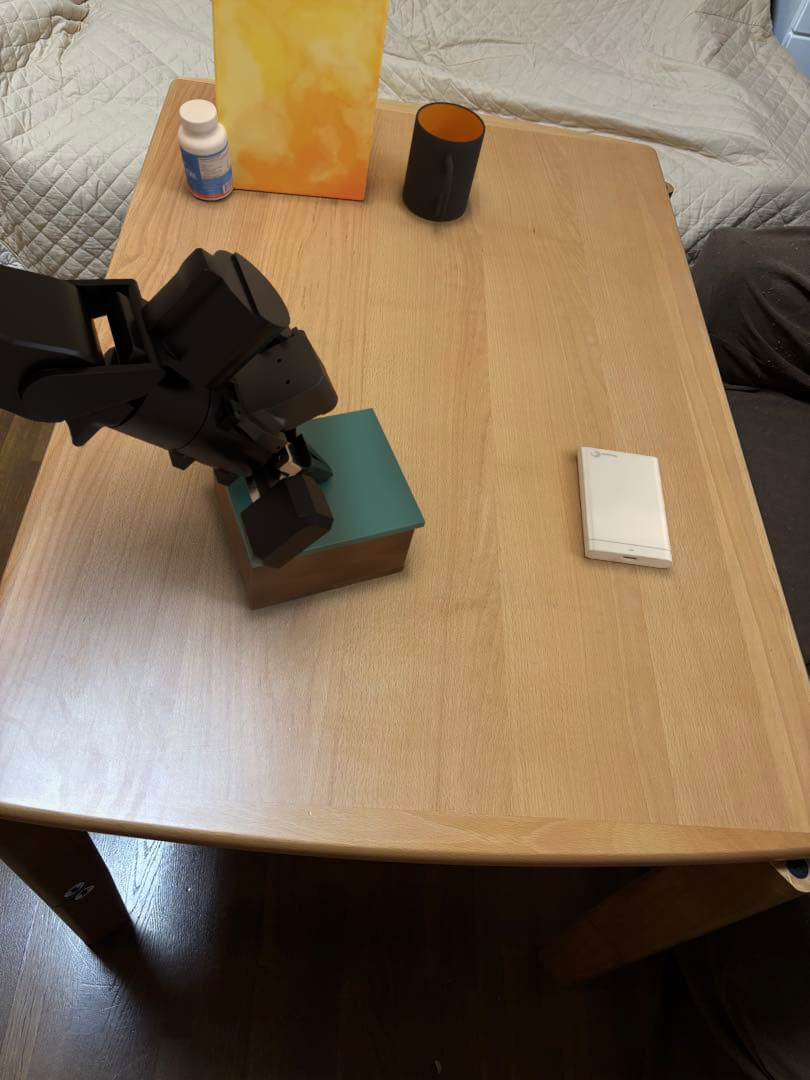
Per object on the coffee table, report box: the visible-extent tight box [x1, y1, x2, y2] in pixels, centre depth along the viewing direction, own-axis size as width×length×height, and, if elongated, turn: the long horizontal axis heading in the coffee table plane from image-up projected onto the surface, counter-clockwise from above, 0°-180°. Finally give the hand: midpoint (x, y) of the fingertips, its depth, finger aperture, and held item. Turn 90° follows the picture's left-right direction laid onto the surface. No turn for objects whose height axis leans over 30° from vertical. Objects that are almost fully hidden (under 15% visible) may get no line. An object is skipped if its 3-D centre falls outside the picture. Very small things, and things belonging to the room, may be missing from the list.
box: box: [212, 469, 416, 611], centre depth 68 cm, size 14×13×7 cm
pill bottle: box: [177, 98, 234, 201], centre depth 91 cm, size 6×5×10 cm
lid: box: [225, 407, 426, 568], centre depth 65 cm, size 14×13×1 cm
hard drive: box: [576, 446, 673, 569], centre depth 78 cm, size 2×8×12 cm
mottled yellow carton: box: [211, 0, 390, 201], centre depth 90 cm, size 18×12×24 cm
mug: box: [401, 101, 486, 222], centre depth 96 cm, size 8×12×10 cm
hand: (328, 474), depth 65 cm, fingers closed, pressing on lid
